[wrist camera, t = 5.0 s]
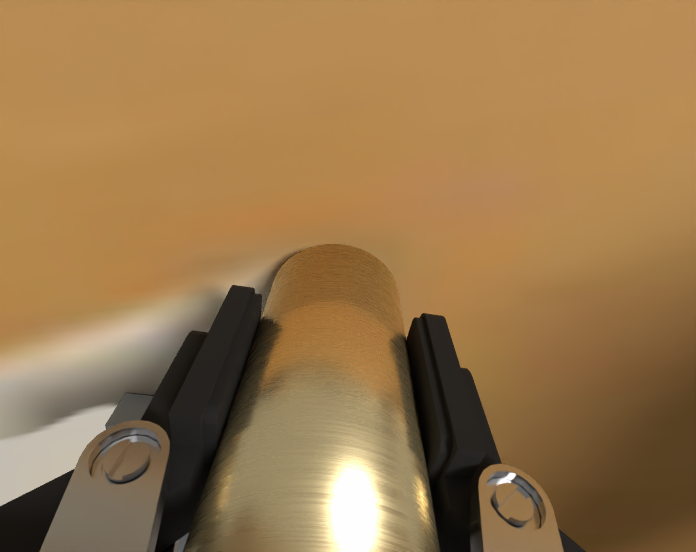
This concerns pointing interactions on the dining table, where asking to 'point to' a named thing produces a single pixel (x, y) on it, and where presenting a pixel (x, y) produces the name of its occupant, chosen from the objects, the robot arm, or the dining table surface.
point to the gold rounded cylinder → (322, 422)
